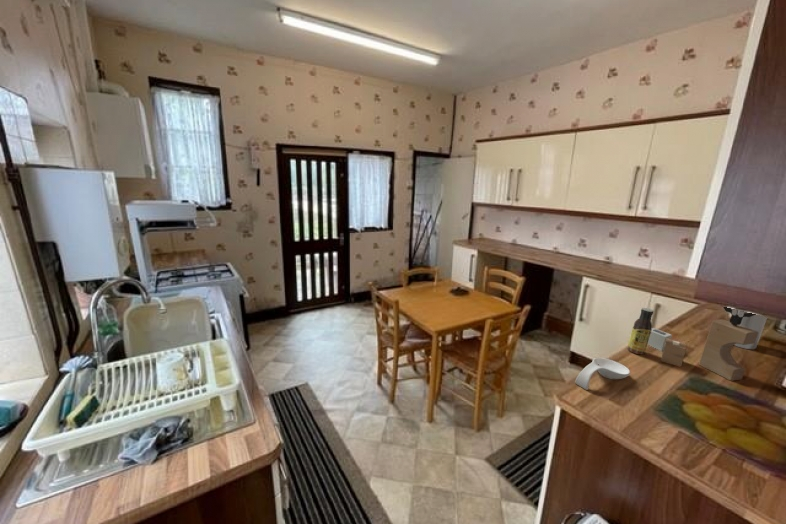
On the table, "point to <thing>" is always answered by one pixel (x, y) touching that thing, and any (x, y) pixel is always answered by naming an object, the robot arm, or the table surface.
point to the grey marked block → (658, 339)
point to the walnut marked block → (673, 352)
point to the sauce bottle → (641, 332)
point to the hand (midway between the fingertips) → (734, 324)
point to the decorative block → (725, 348)
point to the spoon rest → (601, 371)
